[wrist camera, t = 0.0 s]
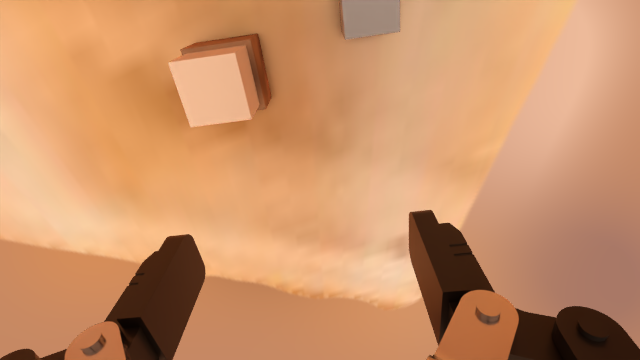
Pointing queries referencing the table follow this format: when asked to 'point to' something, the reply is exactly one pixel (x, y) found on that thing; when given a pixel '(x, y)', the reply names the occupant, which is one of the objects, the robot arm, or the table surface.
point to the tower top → (216, 85)
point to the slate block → (369, 17)
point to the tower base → (254, 58)
